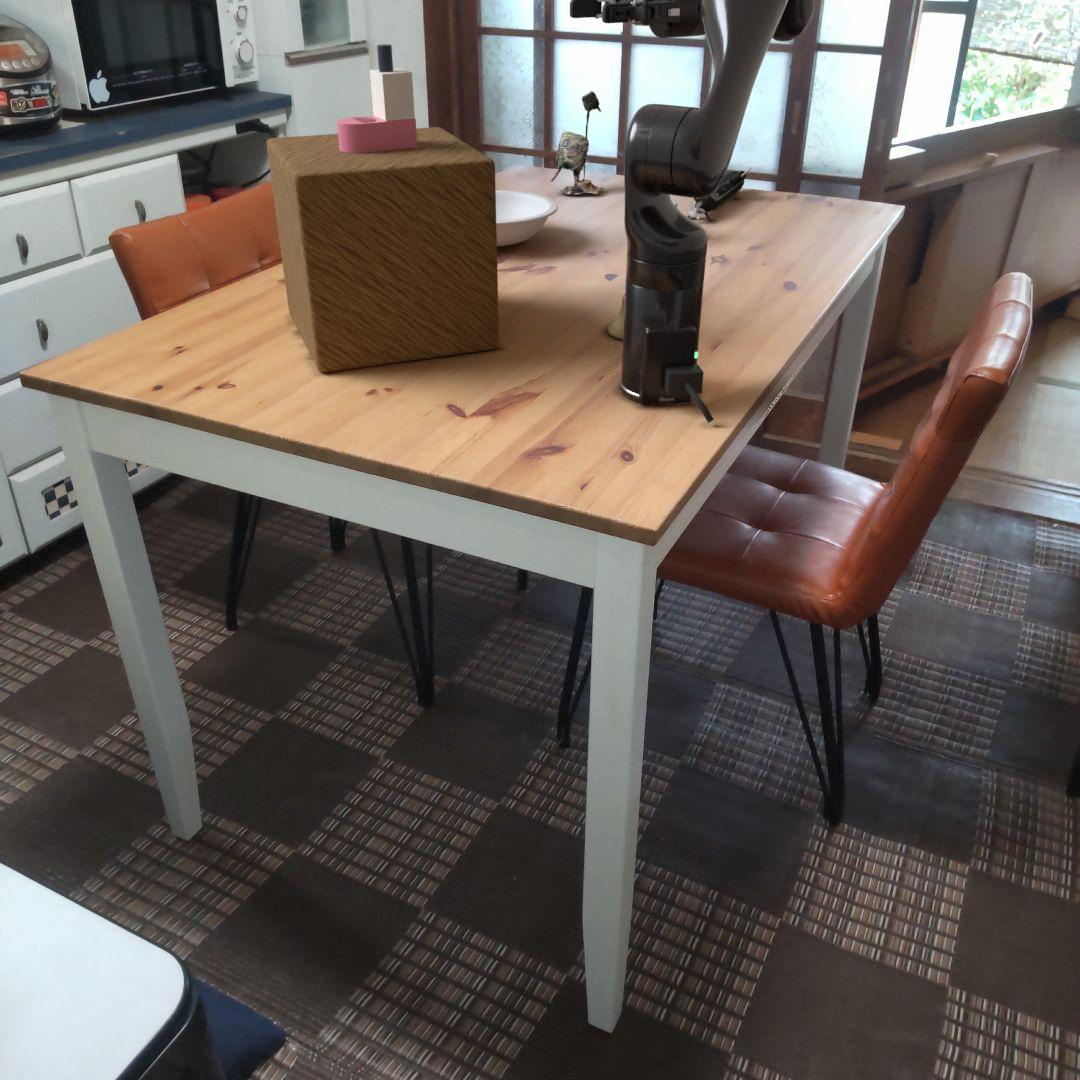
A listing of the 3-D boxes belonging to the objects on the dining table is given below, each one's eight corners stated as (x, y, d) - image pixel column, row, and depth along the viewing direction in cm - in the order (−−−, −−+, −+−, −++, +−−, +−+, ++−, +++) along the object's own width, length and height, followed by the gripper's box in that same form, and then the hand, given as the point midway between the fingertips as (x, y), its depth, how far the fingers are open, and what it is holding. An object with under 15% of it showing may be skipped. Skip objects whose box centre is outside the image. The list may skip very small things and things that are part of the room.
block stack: (403, 141, 136) (396, 42, 130) (417, 147, 132) (411, 45, 126) (334, 147, 132) (323, 46, 126) (347, 154, 128) (337, 50, 122)
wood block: (288, 314, 151) (264, 137, 138) (449, 295, 159) (441, 125, 146) (318, 375, 132) (293, 175, 118) (500, 349, 139) (496, 159, 126)
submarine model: (691, 236, 197) (732, 205, 191) (671, 207, 196) (711, 175, 190) (733, 201, 221) (771, 173, 215) (716, 175, 220) (753, 146, 214)
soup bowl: (399, 241, 185) (396, 204, 182) (500, 218, 199) (499, 183, 195) (481, 270, 170) (480, 230, 167) (584, 243, 184) (585, 206, 180)
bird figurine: (561, 186, 223) (562, 87, 212) (608, 191, 218) (612, 91, 208) (545, 194, 216) (545, 92, 206) (594, 199, 212) (596, 96, 202)
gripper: (660, -27, 144) (560, -24, 137) (721, -22, 133) (616, -19, 126) (657, 32, 148) (560, 37, 141) (716, 41, 137) (614, 48, 130)
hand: (587, 11), depth 134 cm, fingers open, 8 cm apart
